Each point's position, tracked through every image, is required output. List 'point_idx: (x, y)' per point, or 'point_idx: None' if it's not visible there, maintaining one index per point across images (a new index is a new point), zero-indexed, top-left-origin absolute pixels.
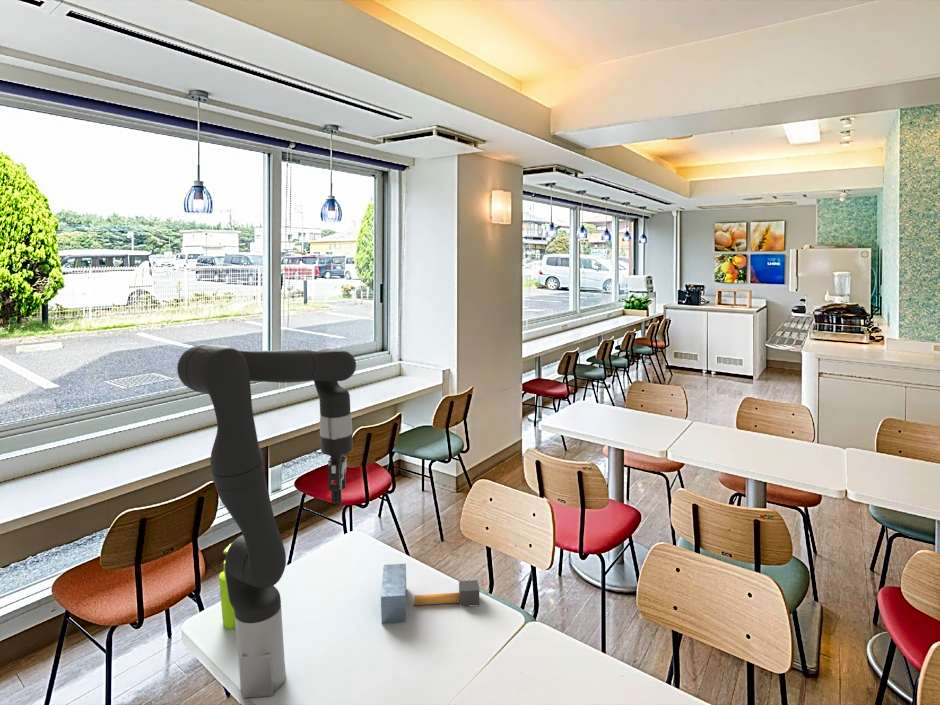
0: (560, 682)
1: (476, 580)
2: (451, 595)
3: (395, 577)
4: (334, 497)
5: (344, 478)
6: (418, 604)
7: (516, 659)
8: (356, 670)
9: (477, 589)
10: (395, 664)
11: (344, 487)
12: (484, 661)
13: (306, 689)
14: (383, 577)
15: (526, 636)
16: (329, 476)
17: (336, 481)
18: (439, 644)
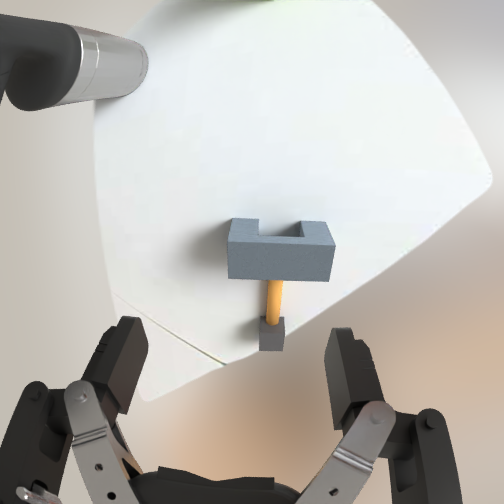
0: None
1: (282, 350)
2: (270, 316)
3: (286, 265)
4: (99, 355)
5: (332, 407)
6: None
7: (166, 346)
8: (136, 189)
9: (260, 349)
10: (148, 237)
11: (325, 360)
12: (160, 323)
13: (105, 130)
14: (291, 245)
15: (200, 359)
16: (2, 456)
17: (341, 363)
18: (185, 287)
